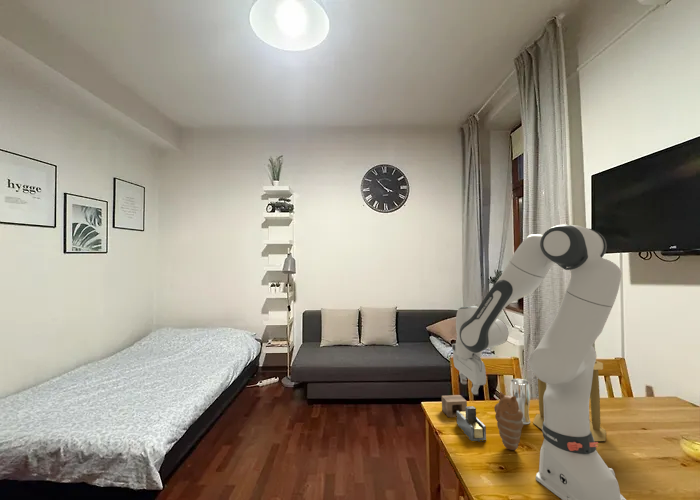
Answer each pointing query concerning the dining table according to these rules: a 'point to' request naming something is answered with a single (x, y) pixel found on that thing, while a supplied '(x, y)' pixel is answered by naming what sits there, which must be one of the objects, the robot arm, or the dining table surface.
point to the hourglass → (595, 427)
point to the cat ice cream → (509, 420)
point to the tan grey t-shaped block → (473, 421)
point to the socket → (453, 405)
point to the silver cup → (521, 396)
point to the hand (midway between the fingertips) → (469, 388)
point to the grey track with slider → (470, 427)
